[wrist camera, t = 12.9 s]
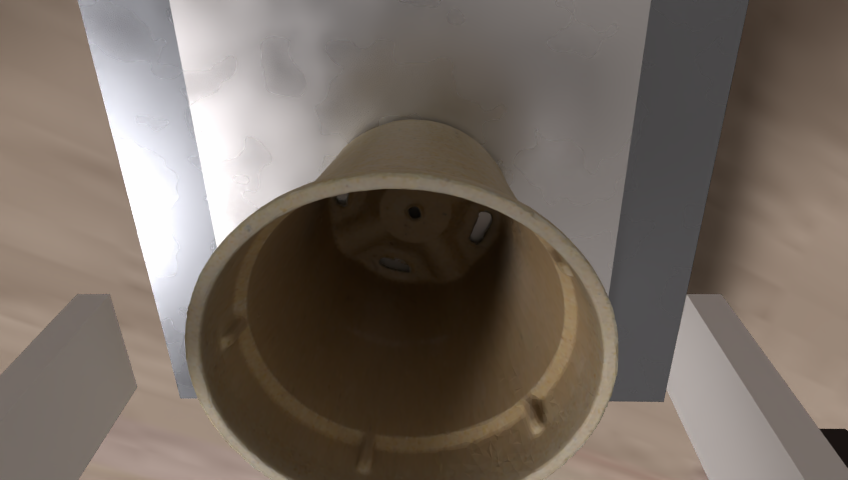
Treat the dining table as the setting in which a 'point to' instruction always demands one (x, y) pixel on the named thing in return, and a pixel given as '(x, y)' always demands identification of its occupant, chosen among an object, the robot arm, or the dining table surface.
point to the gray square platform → (433, 101)
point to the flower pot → (402, 323)
